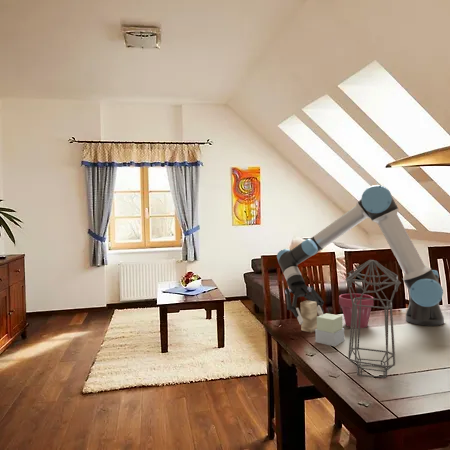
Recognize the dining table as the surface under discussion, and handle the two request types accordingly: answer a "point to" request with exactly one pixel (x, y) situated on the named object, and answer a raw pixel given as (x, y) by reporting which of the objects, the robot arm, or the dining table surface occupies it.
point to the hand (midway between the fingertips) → (312, 321)
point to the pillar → (309, 315)
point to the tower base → (329, 337)
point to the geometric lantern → (354, 307)
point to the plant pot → (365, 311)
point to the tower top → (329, 323)
